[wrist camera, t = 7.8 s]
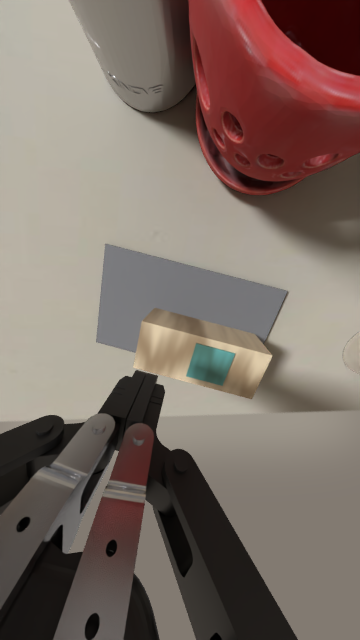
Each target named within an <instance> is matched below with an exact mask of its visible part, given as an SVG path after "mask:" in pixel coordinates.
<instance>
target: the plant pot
mask: <svg viewBox="0 0 360 640" xmlns="http://www.w3.org/2000/svg"><path fill="white" fill-rule="evenodd" d="M188 2H189V25H190V39H191V50H192V60H193V68H194V75H195V81H196V87H197V97H196V126H197V133H198V139H199V143H200V146H201V149H202V152H203V154H204V157H205V159H206V161H207V163H208V164H209V166H210V168H211V169H212V171H213V172H214V174H215V175H216V176H217V177H218V178H219V179H220V180H221V181H222V182H223V183H225V184H226V185H227V186H229V187H231V188H232V189H234V190H237V191H239V192H242V193H245V194H250V195H267V194H272V193H276V192H279V191H282V190H285V189H287V188H289V187H291V186H293V185H295V184H297V183H298V182H300V181H301V180H303V179H304V178H305V177H307V176H309V175H312V174H315V173H318V172H320V171H323V170H325V169H328V168H330V167H332V166H334V165H336V164H338V163H340V162H342V161H344V160H346V159H347V158H349V157H351V156H353V155H355V154H357V153H359V152H360V0H188Z"/></svg>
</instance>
